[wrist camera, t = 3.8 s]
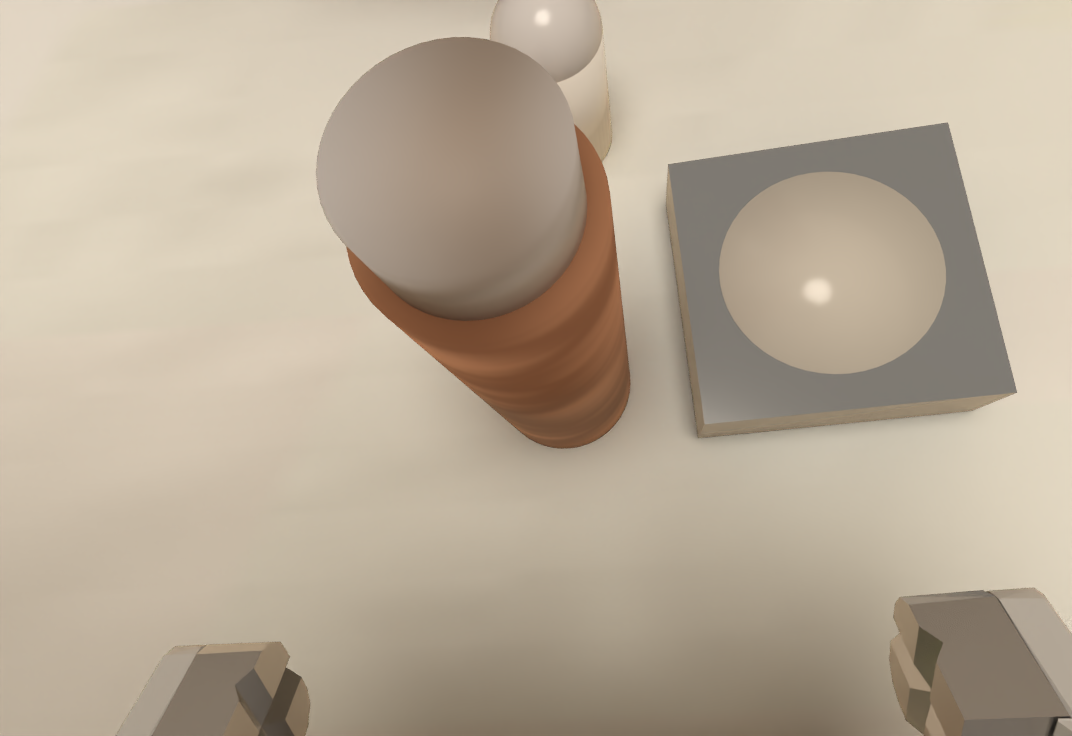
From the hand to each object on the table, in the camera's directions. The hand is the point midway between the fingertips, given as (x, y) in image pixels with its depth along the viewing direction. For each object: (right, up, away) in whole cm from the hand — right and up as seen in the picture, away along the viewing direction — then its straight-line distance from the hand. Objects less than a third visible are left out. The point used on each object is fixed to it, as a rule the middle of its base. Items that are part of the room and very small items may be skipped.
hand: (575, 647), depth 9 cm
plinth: (+9, +6, +16) cm, 19 cm away
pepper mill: (+1, +3, +16) cm, 17 cm away
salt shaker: (+1, +13, +19) cm, 23 cm away
